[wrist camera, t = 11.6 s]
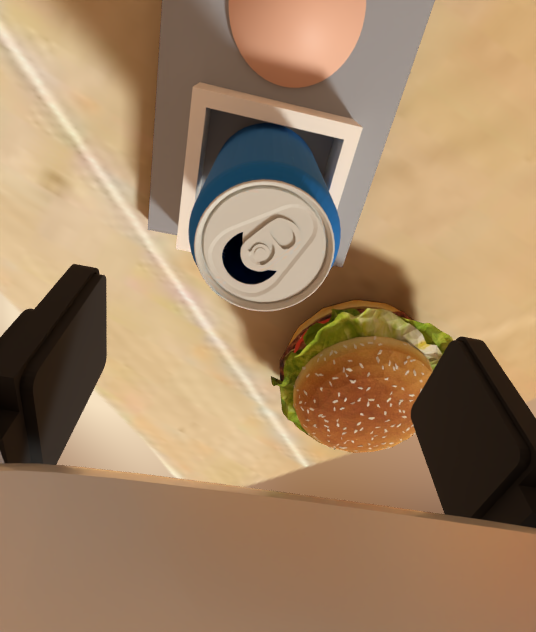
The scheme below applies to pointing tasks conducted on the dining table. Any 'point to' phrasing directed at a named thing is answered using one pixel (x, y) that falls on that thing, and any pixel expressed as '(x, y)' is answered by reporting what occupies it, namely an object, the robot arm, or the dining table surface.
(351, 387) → the food
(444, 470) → the robot arm
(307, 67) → the board
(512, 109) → the dining table surface
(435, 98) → the dining table surface
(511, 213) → the dining table surface
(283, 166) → the beverage can
